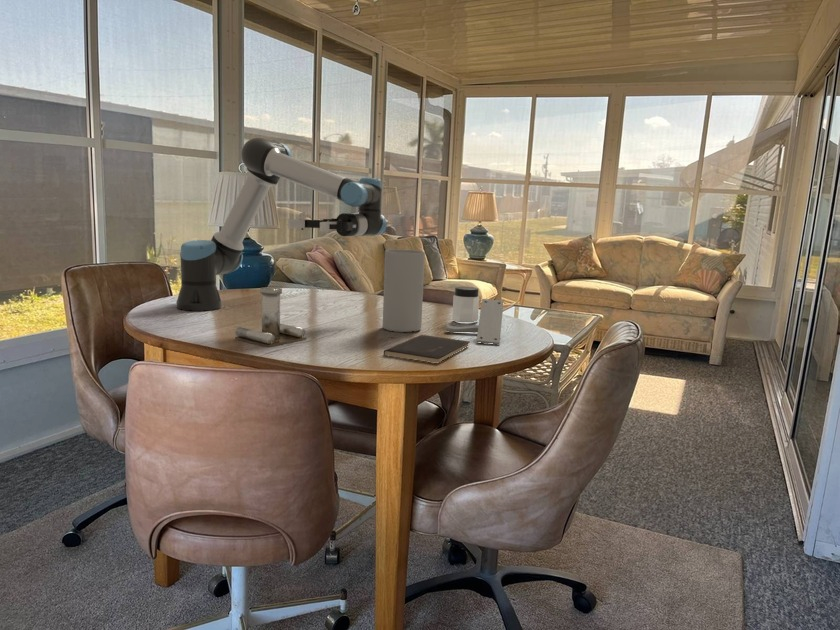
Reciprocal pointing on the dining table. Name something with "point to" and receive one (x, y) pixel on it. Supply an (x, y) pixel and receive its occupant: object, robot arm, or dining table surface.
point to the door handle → (485, 322)
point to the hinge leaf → (271, 336)
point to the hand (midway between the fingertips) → (304, 225)
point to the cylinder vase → (403, 290)
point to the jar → (465, 304)
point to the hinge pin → (271, 310)
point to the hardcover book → (427, 348)
